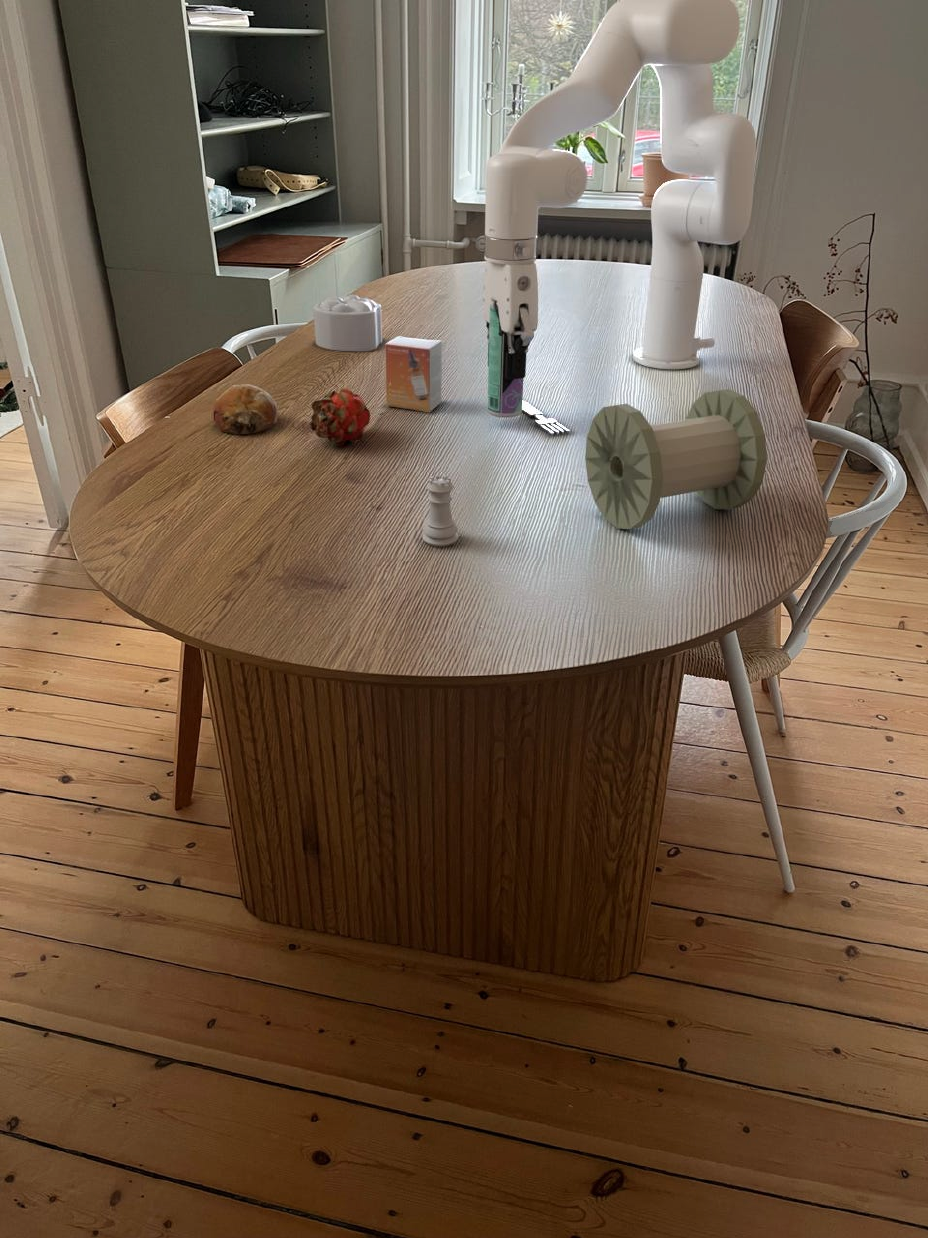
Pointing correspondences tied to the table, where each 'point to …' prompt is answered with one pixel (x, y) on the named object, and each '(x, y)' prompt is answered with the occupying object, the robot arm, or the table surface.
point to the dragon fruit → (340, 417)
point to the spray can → (501, 372)
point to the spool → (675, 457)
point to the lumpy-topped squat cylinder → (348, 324)
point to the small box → (413, 373)
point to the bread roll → (244, 410)
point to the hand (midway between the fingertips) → (506, 371)
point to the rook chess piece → (440, 514)
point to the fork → (543, 420)
